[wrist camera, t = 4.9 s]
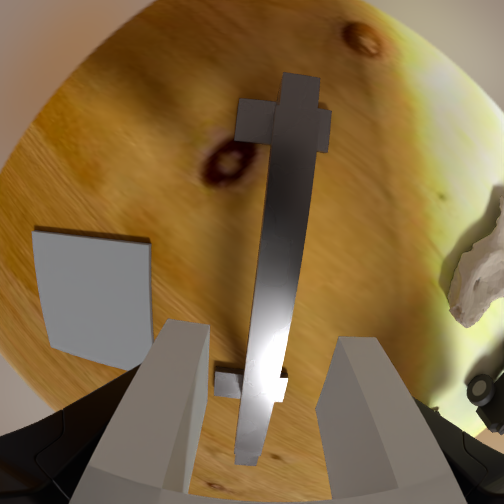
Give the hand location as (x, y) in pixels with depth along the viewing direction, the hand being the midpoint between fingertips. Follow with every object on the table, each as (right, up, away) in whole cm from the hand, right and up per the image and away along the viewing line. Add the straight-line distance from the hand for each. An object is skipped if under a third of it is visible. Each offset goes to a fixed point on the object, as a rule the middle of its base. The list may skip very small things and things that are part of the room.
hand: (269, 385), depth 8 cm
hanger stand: (0, +3, +9) cm, 10 cm away
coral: (+17, +4, +9) cm, 20 cm away
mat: (-12, 0, +10) cm, 16 cm away
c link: (0, 0, 0) cm, 0 cm away
